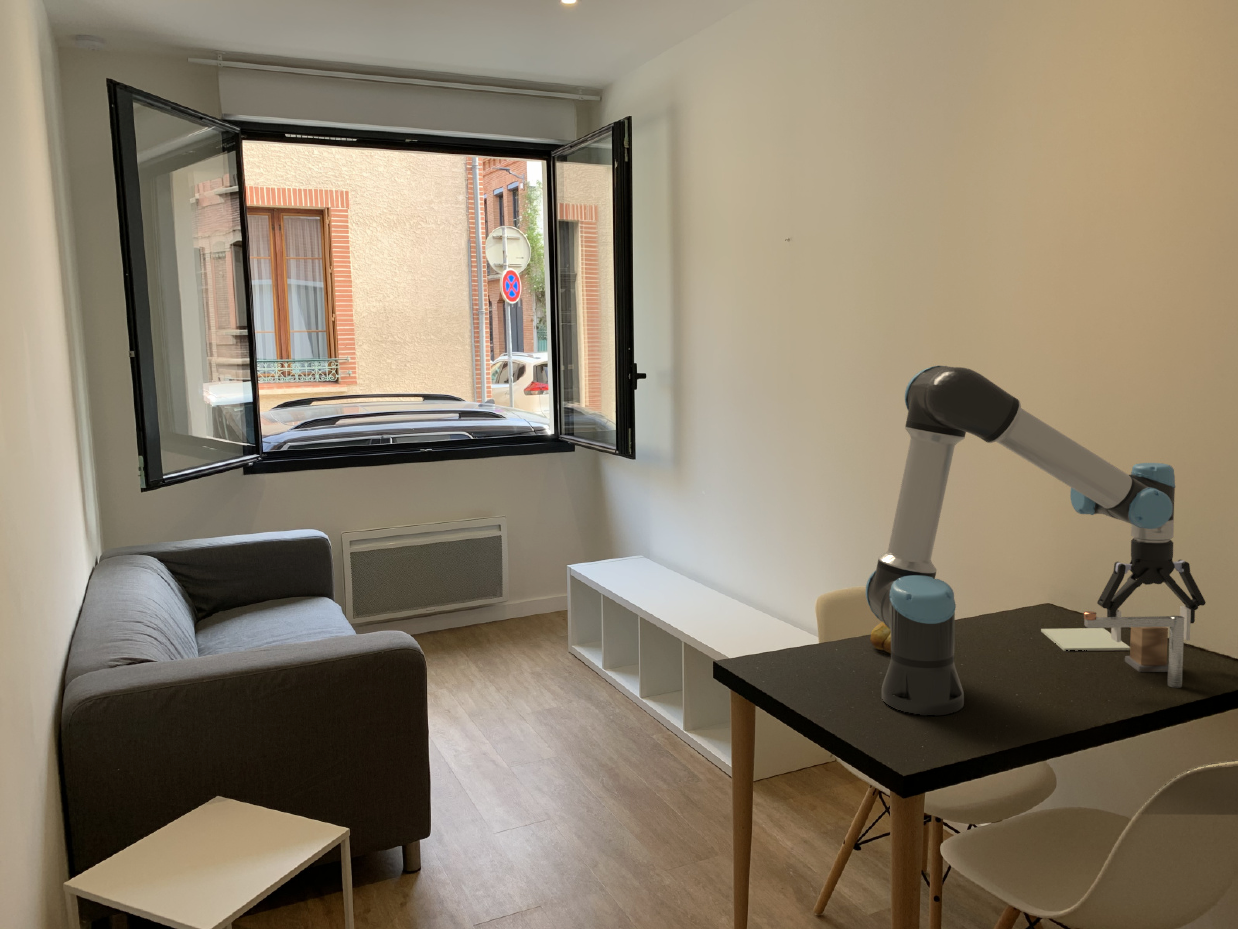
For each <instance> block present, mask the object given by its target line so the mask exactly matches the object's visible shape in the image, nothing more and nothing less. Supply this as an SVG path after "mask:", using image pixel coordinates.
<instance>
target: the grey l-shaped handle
mask: <svg viewBox="0 0 1238 929" xmlns="http://www.w3.org/2000/svg"><path fill="white" fill-rule="evenodd" d="M1083 619H1084V622H1083V623H1084V625H1083V626H1085V627H1086V628H1104V629H1105V628H1106V629H1107V628H1110V629H1111V628H1114V627H1121V628H1131V627H1167V628H1169V629H1168V633H1169V634H1168V635H1169V637H1168V658H1167V663H1168V672H1167V686H1168V687H1171V688H1174V689H1179V688H1182V686H1183V666H1184V665H1183V664H1184V663H1183V662H1184V640H1185V639H1184V617H1182V616H1180V615H1169V616H1168V615H1165V616H1164V615H1163V616H1162V615H1160V616H1158V615H1157V616H1121V617H1107V616H1106V617H1105V616H1103V617H1101V616H1100V617H1097V612H1096V611H1091V610H1086V611H1083Z"/></svg>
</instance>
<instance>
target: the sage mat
mask: <svg viewBox="0 0 1238 929" xmlns="http://www.w3.org/2000/svg"><path fill="white" fill-rule="evenodd" d="M1040 632H1041V633H1042V634H1044V635H1045V636H1046V637H1047V638H1048V639H1049V640H1051V641H1052V642H1053V643H1054V644H1055V643H1056V644H1055V645H1057V646H1058V647H1059V648H1060V649H1061V650H1062V651H1063V652H1070V650H1075V652H1079V651H1078V650H1082V651H1083V652H1090V651H1091V652H1092V651H1093V652H1096V651H1097V652H1098V651H1101V652H1104V651H1105V652H1106V651H1130V646H1129V645H1128V644H1126V643H1125V642H1123V641H1122V640H1121V642H1116V641H1115V640H1113V639H1112V638H1111V631H1110V632H1109V631H1108V630H1107V629H1105V628H1087V627H1086V628H1085V627H1083V628H1080V627H1078V628H1077V627H1076V628H1041V629H1040ZM1066 650H1068V651H1066ZM1084 650H1085V651H1084ZM1086 650H1087V651H1086ZM1082 651H1081V652H1082Z"/></svg>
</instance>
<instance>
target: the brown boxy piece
mask: <svg viewBox="0 0 1238 929" xmlns="http://www.w3.org/2000/svg"><path fill="white" fill-rule="evenodd" d="M1168 633H1169V627H1130V640H1129V641H1130V642H1129V645H1130V646H1129V647H1130V650H1129V655H1125V656H1124V662H1125V663H1126V664H1128V665H1129V666H1130V667H1132V668H1133V669H1134V670H1136V672H1138V673H1152V672H1153V673H1155V672H1158V673H1160V672H1163V673H1165V672H1167V673H1168V642H1169V637H1168V635H1169V634H1168Z"/></svg>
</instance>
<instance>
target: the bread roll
mask: <svg viewBox="0 0 1238 929" xmlns="http://www.w3.org/2000/svg"><path fill="white" fill-rule="evenodd" d="M869 640H870V642H871V645H872V646H873V647H874V648H875V649H877V650H881V651H885V652H886V653H889V654H891V630H890V629H889V628H888V627H887V626H886V625H885V624H884V623H883V622H882V621H881V620H880V623H877V625H876V626H875V627H874V628H873V629H872V631H871V632H870V639H869Z"/></svg>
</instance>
